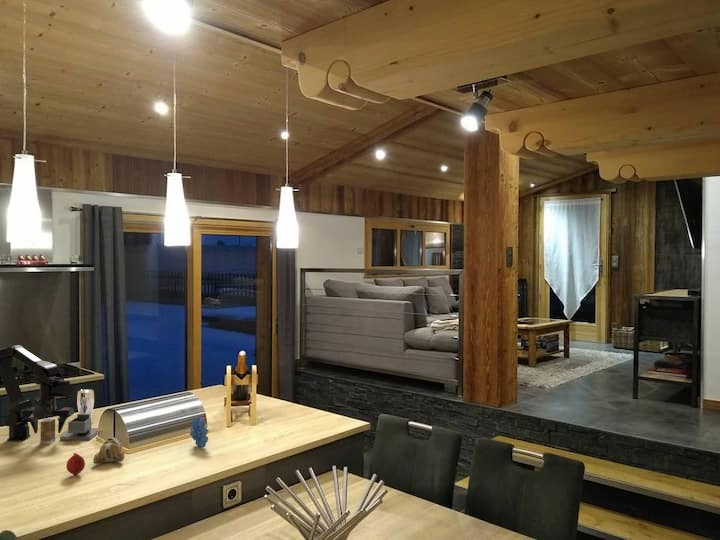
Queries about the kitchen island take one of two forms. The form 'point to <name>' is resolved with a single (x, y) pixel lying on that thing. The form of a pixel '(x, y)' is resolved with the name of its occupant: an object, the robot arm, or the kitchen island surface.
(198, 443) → the grapes
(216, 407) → the kitchen island surface
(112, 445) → the ceramic sculpture
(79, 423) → the bracket
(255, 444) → the kitchen island surface
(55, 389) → the robot arm
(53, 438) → the brown rectangular block
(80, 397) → the beer glass
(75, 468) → the onion
